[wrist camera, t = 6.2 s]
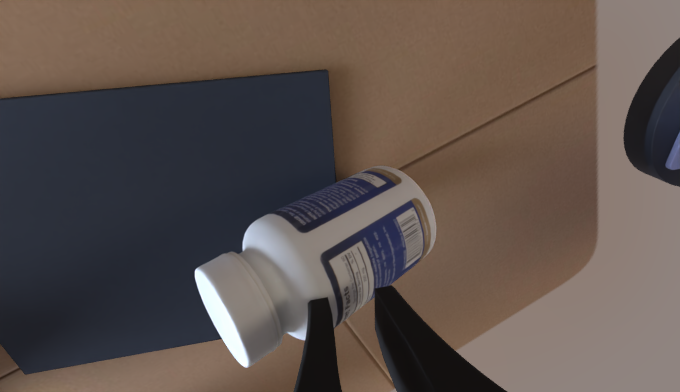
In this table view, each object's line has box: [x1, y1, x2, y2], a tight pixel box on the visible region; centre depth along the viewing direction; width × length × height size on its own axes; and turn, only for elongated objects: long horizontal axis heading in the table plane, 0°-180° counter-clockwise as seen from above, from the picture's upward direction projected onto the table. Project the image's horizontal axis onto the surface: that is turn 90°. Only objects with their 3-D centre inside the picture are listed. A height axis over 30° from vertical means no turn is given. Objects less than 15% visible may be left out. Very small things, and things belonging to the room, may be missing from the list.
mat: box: [0, 70, 336, 374], centre depth 18 cm, size 20×16×1 cm
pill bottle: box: [195, 166, 436, 367], centre depth 15 cm, size 5×5×10 cm
